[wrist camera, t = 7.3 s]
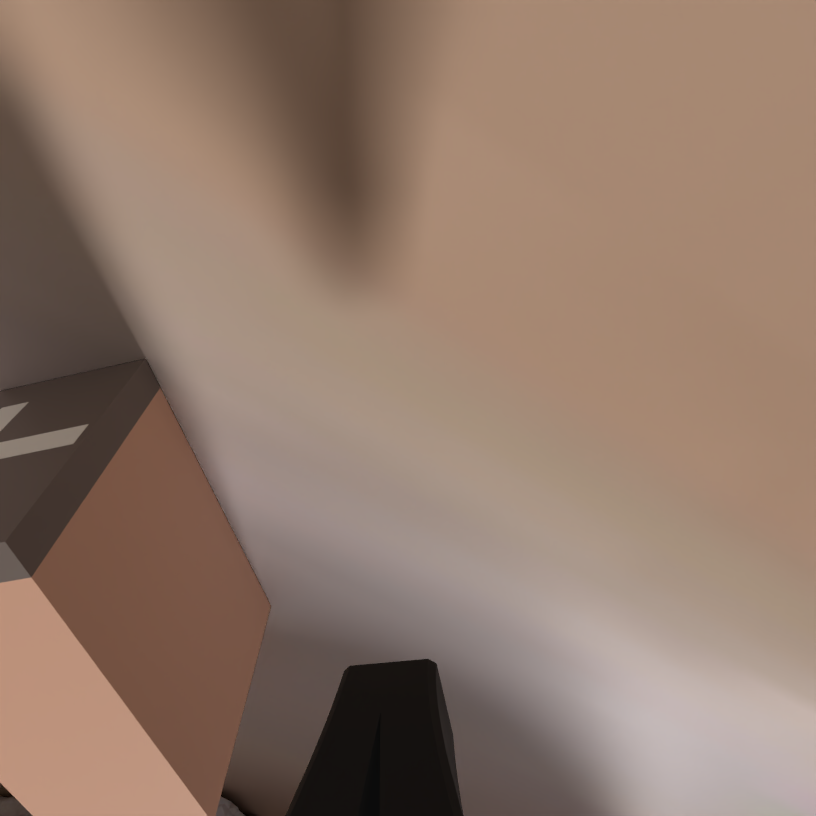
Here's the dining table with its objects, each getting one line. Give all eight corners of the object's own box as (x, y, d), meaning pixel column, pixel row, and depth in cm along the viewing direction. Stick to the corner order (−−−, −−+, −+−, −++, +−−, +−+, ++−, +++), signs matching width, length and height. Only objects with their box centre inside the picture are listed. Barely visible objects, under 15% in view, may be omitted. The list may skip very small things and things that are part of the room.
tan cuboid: (4, 540, 10) (213, 823, 13) (145, 358, 14) (271, 606, 18) (-200, 578, 10) (55, 839, 14) (-1, 390, 15) (151, 624, 18)
